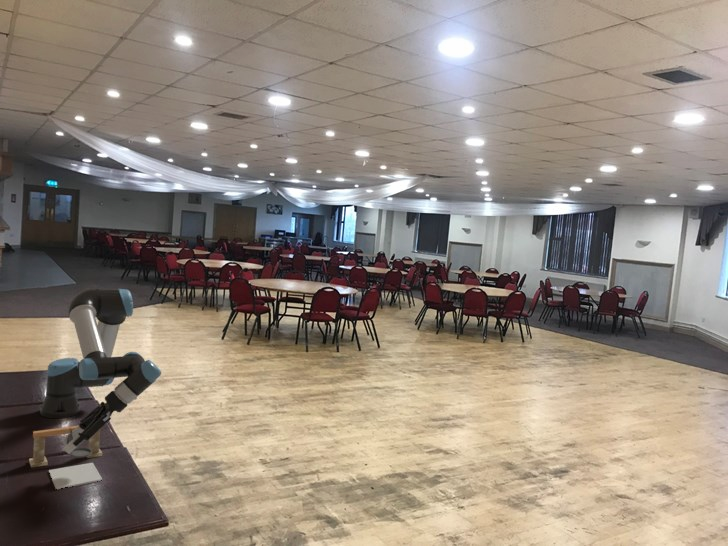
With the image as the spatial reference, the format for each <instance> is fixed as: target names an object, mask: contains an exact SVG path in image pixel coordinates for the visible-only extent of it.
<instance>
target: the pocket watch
mask: <svg viewBox="0 0 728 546" xmlns="http://www.w3.org/2000/svg"><path fill="white" fill-rule="evenodd" d="M68 434H69V435H68ZM68 434H67V435H68V438H67V444H68V443H69V442H70V441H72V440H73V436H72V430H71V429H70V433H68ZM67 444H66V445H67ZM91 453H92V450H91V449H89V448H88V447H76V448H75V449H74V450H73V451H72V452H71V453H70V454H69V455H70V456H71V457H73V458H79V459H80V458H85V457H86V456H88V455H90V454H91ZM86 458H87V457H86Z"/></svg>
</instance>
